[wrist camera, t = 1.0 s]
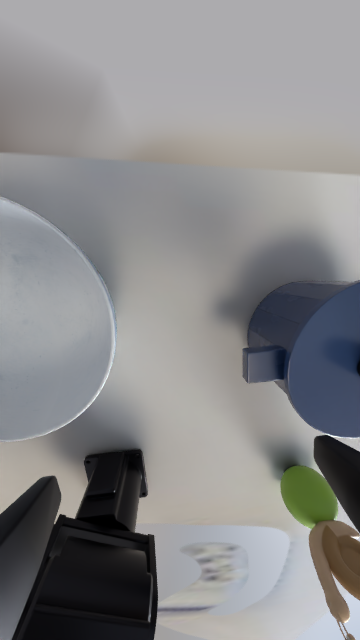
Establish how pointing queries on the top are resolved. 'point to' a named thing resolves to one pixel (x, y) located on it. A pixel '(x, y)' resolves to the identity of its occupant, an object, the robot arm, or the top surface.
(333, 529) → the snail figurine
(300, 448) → the top surface
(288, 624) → the top surface
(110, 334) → the chinaware
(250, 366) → the pot
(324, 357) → the pot lid
